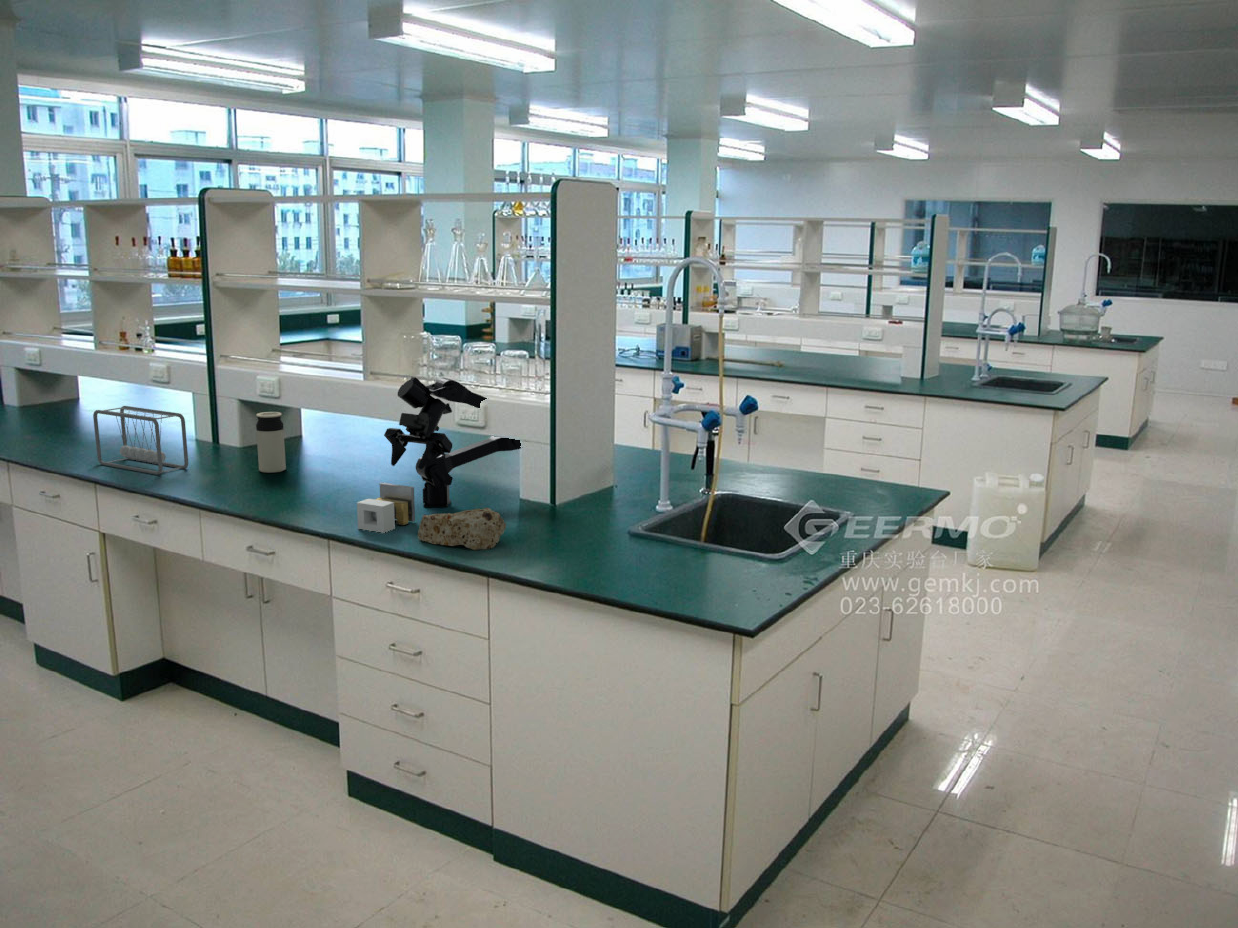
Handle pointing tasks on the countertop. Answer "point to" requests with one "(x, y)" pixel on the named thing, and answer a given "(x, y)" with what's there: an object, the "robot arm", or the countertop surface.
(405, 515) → the spacer
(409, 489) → the grey piece
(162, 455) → the newton's cradle
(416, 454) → the countertop surface
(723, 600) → the countertop surface
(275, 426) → the travel mug
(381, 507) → the block
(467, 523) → the rock
